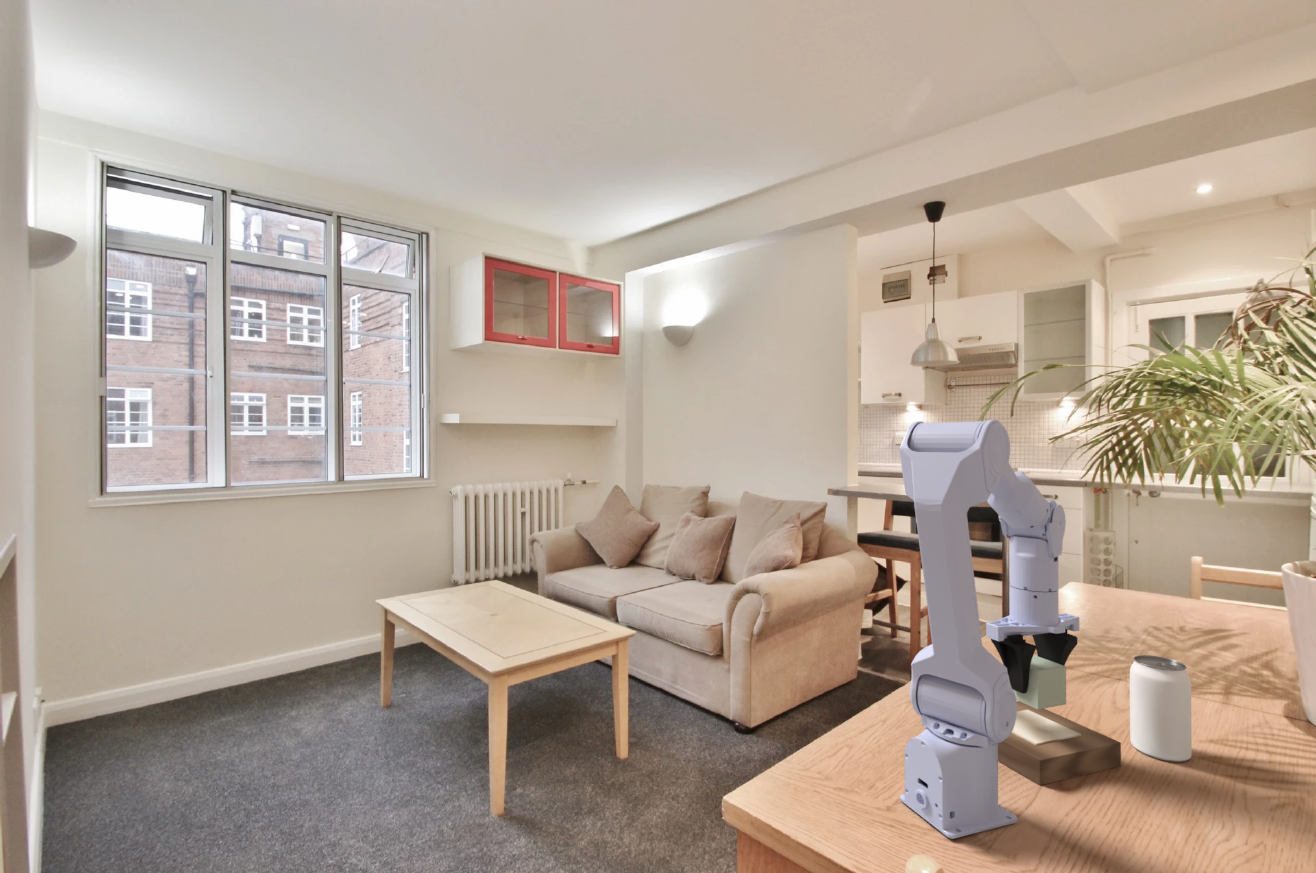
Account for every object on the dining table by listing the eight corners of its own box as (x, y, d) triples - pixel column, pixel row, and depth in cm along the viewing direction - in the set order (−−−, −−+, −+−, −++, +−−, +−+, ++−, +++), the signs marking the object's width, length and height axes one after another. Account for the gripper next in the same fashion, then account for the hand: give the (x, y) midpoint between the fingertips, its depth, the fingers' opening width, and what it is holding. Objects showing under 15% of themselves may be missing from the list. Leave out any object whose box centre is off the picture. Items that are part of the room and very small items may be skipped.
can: (1131, 735, 89) (1130, 650, 89) (1191, 749, 85) (1190, 661, 85) (1128, 753, 84) (1128, 663, 84) (1192, 769, 80) (1191, 674, 80)
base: (1039, 785, 76) (1039, 758, 76) (951, 734, 89) (951, 711, 89) (1120, 766, 80) (1120, 741, 80) (1025, 720, 94) (1025, 698, 94)
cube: (1037, 709, 81) (1037, 671, 81) (1005, 694, 86) (1005, 658, 86) (1066, 704, 83) (1066, 666, 83) (1032, 690, 88) (1032, 654, 88)
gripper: (1018, 598, 79) (1018, 707, 79) (1101, 590, 83) (1101, 692, 83) (973, 586, 85) (973, 686, 85) (1052, 579, 90) (1052, 673, 90)
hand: (1033, 688), depth 85 cm, fingers closed on cube, 5 cm apart
